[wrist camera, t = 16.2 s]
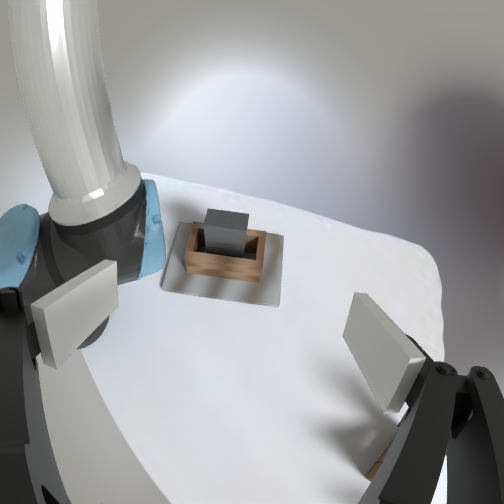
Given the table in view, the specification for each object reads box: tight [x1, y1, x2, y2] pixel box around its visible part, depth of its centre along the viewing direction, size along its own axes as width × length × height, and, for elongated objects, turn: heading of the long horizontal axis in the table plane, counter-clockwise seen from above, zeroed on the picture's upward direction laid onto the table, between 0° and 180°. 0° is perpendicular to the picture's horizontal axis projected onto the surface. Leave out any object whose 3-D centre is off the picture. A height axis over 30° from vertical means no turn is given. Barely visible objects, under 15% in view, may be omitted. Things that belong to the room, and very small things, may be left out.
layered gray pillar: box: [204, 209, 249, 258], centre depth 45 cm, size 6×3×12 cm, turn 84°
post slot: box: [162, 222, 284, 307], centre depth 48 cm, size 20×14×6 cm
